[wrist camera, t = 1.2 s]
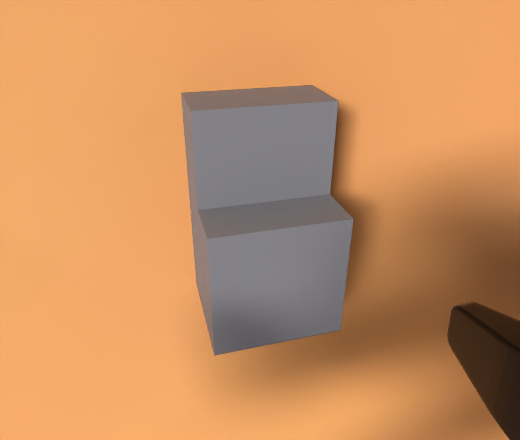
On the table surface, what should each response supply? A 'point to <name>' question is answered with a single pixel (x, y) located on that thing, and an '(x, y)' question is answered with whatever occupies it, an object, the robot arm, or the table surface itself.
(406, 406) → the table surface
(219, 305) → the stepped block
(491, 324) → the robot arm
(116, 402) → the table surface
